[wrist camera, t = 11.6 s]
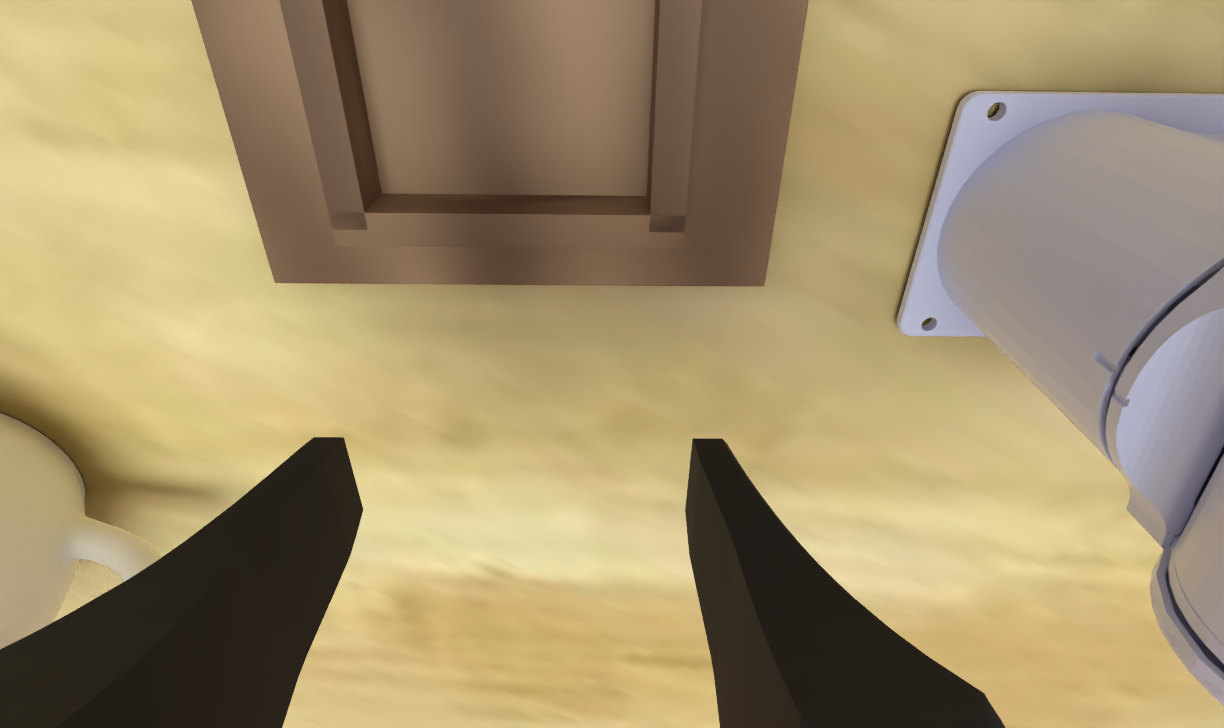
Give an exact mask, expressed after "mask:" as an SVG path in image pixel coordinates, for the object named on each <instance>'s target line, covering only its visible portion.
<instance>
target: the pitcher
mask: <svg viewBox="0 0 1224 728" xmlns="http://www.w3.org/2000/svg"><path fill="white" fill-rule="evenodd" d="M84 500H85V487H84V484H83V480H82V478H81V475H80V473H79V471H78V470H77V468H76V466H75V465H74V463H73V462H72V461H71V460H70V458H69V457H68V456H67V455H66V454H65V453H64V452H63V451H62V450H61V449H60V448H59V447H58V446H57V445H56V444H54V443H53V442H52V441H51V440H50V439H48V438H47V437H45V436H44V435H43V434H41V433H40V432H38V431H36V430H35V429H33V428H31V427H30V426H28V425H26V424H24V423H22V422H20V421H18V420H16V419H14V418H11V417H9V416H6V415H4V414H1V413H0V649H2V648H4V647H6V646H8V645H10V644H12V643H14V642H16V641H18V640H20V639H22V638H24V637H26V636H28V635H30V634H32V633H34V632H36V631H38V630H40V629H42V628H43V627H45V626H47V625H49V624H51V623H52V622H53V621H54V619H55V617H56V615H57V613H58V611H59V609H60V607H61V604H62V602H63V600H64V598H65V596H66V594H67V591H68V589H69V586H70V584H71V581H72V579H73V576H74V573H75V571H76V568H77V565H78V562H79V559H85V560H90V561H94V562H97V563H100V564H102V565H104V566H106V567H108V568H110V569H111V570H113V571H114V572H115V573H116V574H117V575H118V576H119V577H120V578H121V579H122V580H123V582H125V581H126V580H128V579H129V578H131V577H133V576H134V575H136V574H137V573H139V572H140V571H142V570H143V569H145V568H147V567H148V566H150V565H151V564H153V563H154V562H156V561H157V560H159V559H160V558H161V556H160V555H159V553H158V552H157V551H156V550H155V549H154V547H153V546H152V545H151V544H150V543H148V542H147V541H145V540H144V539H143V538H141V537H140V536H138V535H136V534H134V533H131V532H129V531H127V530H125V529H122V528H119V527H116V526H114V525H110V524H107V523H104V522H101V521H98V520H95V519H92V518H89V517H87V516H85V506H84Z"/></svg>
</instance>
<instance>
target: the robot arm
mask: <svg viewBox="0 0 1224 728" xmlns="http://www.w3.org/2000/svg"><path fill="white" fill-rule="evenodd" d="M997 102H998V103H999V110H998V112H997V113H996V114H995V115H994V116H993V117H991V118H988V117H987V115H988V110H989V108H990V107H991V106H992V105H993V104H994V103H997ZM931 317H932V320H931V321H930V323H928V324H927V325H922V323H923V321H924V320H926V319H927V318H931ZM897 326H898V328H899V330H900V331H901V332H902V333H903V334H905V335H908V336H987V337H988V338H989V339H990V340H991V341H992V342H993V343H994V344H995V345H996V346H997V347H998V348H999V349H1000V350H1001V351H1002V352H1003V353H1004V354H1005V355H1006V356H1007V357H1008V358H1009V359H1010V360H1011V361H1012V362H1013V363H1014V365H1015V366H1016V367H1017V368H1018V369H1019V370H1020V371H1021V372H1022V373H1023V374H1024V375H1025V376H1026V377H1027V378H1028V379H1029V380H1030V381H1031V382H1032V383H1033V384H1034V385H1035V386H1036V387H1037V388H1038V389H1039V390H1040V391H1041V392H1042V393H1043V394H1044V395H1045V396H1046V397H1047V398H1048V399H1049V400H1050V401H1051V402H1052V403H1053V404H1054V405H1055V406H1056V407H1057V408H1058V409H1059V410H1060V411H1061V412H1062V413H1063V414H1064V415H1065V416H1066V417H1067V418H1068V419H1069V420H1070V421H1071V422H1072V423H1073V424H1074V425H1075V426H1076V427H1077V428H1078V429H1079V430H1080V431H1081V432H1082V433H1083V434H1084V435H1085V436H1086V437H1087V438H1088V439H1089V440H1090V441H1091V442H1092V443H1093V444H1094V445H1095V446H1096V447H1097V448H1098V449H1099V450H1100V451H1101V452H1102V453H1103V454H1104V456H1105V457H1106V458H1107V459H1108V460H1109V461H1110V462H1111V463H1112V464H1113V465H1114V466H1115V467H1116V468H1117V469H1118V470H1119V471H1120V472H1121V473H1122V475H1123V476H1124V477H1125V479H1126V480H1127V482H1128V484H1129V487H1130V499H1129V502H1128V506H1127V510H1128V512H1129V513H1130V514H1131V515H1132V516H1133V517H1134V518H1135V519H1136V520H1137V521H1138V522H1139V523H1140V524H1141V525H1142V527H1143V528H1144V529H1145V530H1146V531H1147V532H1148V533H1149V534H1150V535H1151V536H1152V537H1153V538H1154V539H1155V540H1156V542H1157V543H1158V544H1159V545H1160V546H1161V547H1162V548H1164V549H1163V551H1162V553H1161V555H1160V557H1159V559H1158V560H1157V562H1156V564H1155V566H1154V568H1153V570H1152V576H1151V582H1150V594H1151V602H1152V608H1153V611H1154V614H1155V616H1156V619H1157V622H1158V625H1159V627H1160V629H1161V631H1162V633H1163V634H1164V636H1165V638H1166V639H1167V641H1168V643H1169V645H1170V646H1171V648H1172V650H1173V651H1174V652H1175V654H1176V655H1177V656H1178V657H1179V659H1180V660H1181V661H1182V663H1183V664H1184V665H1185V666H1186V668H1187V669H1188V670H1189V672H1190V673H1191V674H1192V675H1193V676H1194V677H1195V678H1196V679H1197V680H1198V681H1199V682H1200V683H1201V684H1202V685H1203V686H1204V687H1205V688H1206V689H1207V690H1208V691H1209V692H1210V694H1211V695H1212V696H1213V697H1214V698H1216V699H1217V700H1218V701H1219V702H1220V703H1221V704H1223V705H1224V94H1211V93H1128V92H1045V91H975V92H972V93H970V94H968V95H966V96H965V97H964V98H963V99H962V100H961V102H960V103H959V106H958V108H957V110H956V114H955V117H954V121H953V124H952V128H951V131H950V135H949V138H948V142H947V145H946V149H945V152H944V156H943V159H942V163H941V166H940V170H939V173H938V177H937V180H936V184H935V187H934V191H933V194H932V198H931V201H930V205H929V208H928V212H927V215H926V219H925V222H924V226H923V229H922V233H921V236H920V240H919V243H918V247H917V250H916V254H915V257H914V261H913V264H912V268H911V271H910V275H909V278H908V282H907V285H906V289H905V292H904V296H903V299H902V303H901V306H900V310H899V313H898V317H897ZM685 511H686V522H687V534H688V544H689V554H690V559H691V564H692V569H693V574H694V578H695V583H696V588H697V593H698V597H699V602H700V607H701V611H702V616H703V621H704V625H705V630H706V635H707V640H708V644H709V649H710V654H711V660H712V665H713V671H714V678H715V687H716V695H717V704H718V713H719V721H720V728H1005V726H1004V725H1003V723H1002V721H1001V719H1000V718H999V716H998V715H997V713H996V712H995V710H994V709H993V707H992V706H991V704H990V703H989V701H988V699H987V698H986V696H985V694H984V693H983V692H981V691H980V690H978V689H977V688H975V687H974V686H972V685H970V684H969V683H967V682H966V681H964V680H963V679H961V678H960V677H958V676H957V675H955V674H954V673H952V672H951V671H949V670H948V669H946V668H945V667H943V666H941V665H940V664H938V663H937V662H935V661H934V660H932V659H931V658H929V657H928V656H927V655H925V654H924V653H922V652H921V651H920V650H918V649H917V648H916V647H914V646H913V645H912V644H910V643H909V642H908V641H906V640H905V639H904V638H902V637H901V636H899V635H898V634H897V633H895V632H894V631H893V630H892V629H890V628H889V627H888V626H887V625H885V624H884V623H883V622H882V621H881V620H879V619H878V618H877V617H876V616H875V615H873V614H872V613H871V612H870V611H869V610H868V609H866V608H865V607H864V606H863V605H862V604H860V603H859V602H858V601H857V600H856V599H854V598H853V597H852V596H851V595H850V594H849V593H848V592H847V591H846V590H845V589H844V588H843V587H841V586H840V585H839V584H838V583H837V582H836V581H835V580H834V579H833V578H832V577H831V576H830V575H829V574H828V573H827V572H826V571H825V570H824V569H823V568H822V567H821V566H820V565H819V564H818V563H817V562H816V561H815V560H814V559H813V558H812V556H811V555H810V554H809V553H808V552H807V551H806V550H805V549H804V548H803V547H802V546H801V544H800V543H799V542H798V541H797V540H796V539H795V537H794V536H793V535H792V534H791V533H790V532H789V530H788V529H787V528H786V527H785V526H784V524H783V523H782V522H781V521H780V519H779V518H778V517H777V516H776V514H775V513H774V512H773V510H772V509H771V508H770V506H769V505H768V504H767V502H766V501H765V500H764V499H763V497H762V496H761V495H760V493H759V492H758V490H757V489H756V488H755V486H754V485H753V483H752V482H751V480H750V479H749V478H748V476H747V475H746V473H745V472H744V470H743V469H742V467H741V466H740V464H739V463H738V461H737V459H736V458H735V456H734V455H733V453H732V451H731V450H730V448H729V446H728V445H727V443H726V442H725V441H724V440H723V439H693V441H692V451H691V461H690V470H689V480H688V490H687V499H686V509H685ZM362 512H363V507H362V503H361V500H360V496H359V492H358V489H357V485H356V481H355V478H354V474H353V470H352V467H351V463H350V459H349V456H348V452H347V448H346V444H345V441H344V438H339V437H314V438H313V439H311V440H310V441H309V442H308V443H306V444H305V445H304V446H303V447H301V448H300V449H299V450H298V451H297V452H295V453H294V454H293V455H292V456H291V457H289V458H288V459H287V460H286V461H285V462H284V463H282V464H281V465H280V466H279V467H278V468H276V469H275V470H274V471H273V472H272V473H271V474H269V475H268V476H267V477H266V478H265V479H263V480H262V481H261V482H260V483H259V484H257V485H256V486H255V487H254V488H253V489H251V490H250V491H249V492H248V493H247V494H245V495H244V496H243V497H242V498H241V499H239V500H238V501H237V502H236V503H234V504H233V505H232V506H231V507H229V508H228V509H227V510H225V511H224V512H223V513H222V514H220V515H219V516H218V517H216V518H215V519H214V520H212V521H211V522H210V523H208V524H207V525H206V526H205V527H203V528H202V529H201V530H199V531H198V532H197V533H195V534H194V535H193V536H191V537H190V538H189V539H188V540H186V541H185V542H183V543H182V544H181V545H179V546H178V547H176V548H175V549H173V550H172V551H171V552H169V553H168V554H166V555H165V556H163V557H162V558H160V559H159V560H157V561H156V562H154V563H153V564H151V565H150V566H148V567H147V568H145V569H143V570H142V571H140V572H139V573H137V574H136V575H134V576H133V577H131V578H129V579H128V580H126V581H125V582H123V583H121V584H120V585H118V586H116V587H115V588H113V589H111V590H109V591H108V592H106V593H104V594H102V595H101V596H99V597H97V598H96V599H94V600H92V601H90V602H89V603H87V604H85V605H83V606H82V607H80V608H78V609H77V610H75V611H73V612H71V613H70V614H68V615H66V616H64V617H62V618H61V619H59V620H57V621H55V622H53V623H51V624H49V625H47V626H45V627H43V628H42V629H40V630H38V631H36V632H34V633H32V634H30V635H28V636H26V637H24V638H22V639H20V640H18V641H16V642H14V643H12V644H10V645H8V646H6V647H4V648H2V649H0V728H282V726H283V723H284V720H285V717H286V714H287V710H288V707H289V704H290V701H291V698H292V695H293V692H294V689H295V686H296V683H297V679H298V676H299V674H300V671H301V669H302V666H303V664H304V661H305V658H306V656H307V653H308V651H309V649H310V647H311V644H312V642H313V640H314V638H315V635H316V633H317V631H318V628H319V626H320V624H321V622H322V619H323V617H324V615H325V612H326V610H327V608H328V606H329V603H330V601H331V599H332V597H333V594H334V592H335V590H336V587H337V585H338V583H339V580H340V578H341V576H342V573H343V571H344V569H345V566H346V564H347V562H348V559H349V557H350V554H351V551H352V548H353V544H354V541H355V538H356V534H357V531H358V527H359V523H360V519H361V516H362Z"/></svg>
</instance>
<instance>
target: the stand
mask: <svg viewBox="0 0 1224 728" xmlns="http://www.w3.org/2000/svg"><path fill="white" fill-rule="evenodd" d="M191 1H192V4H193V7H194V11H195V14H196V17H197V21H198V24H199V28H200V31H201V34H202V38H203V41H204V44H205V48H206V51H207V55H208V58H209V61H210V65H211V68H212V72H213V75H214V78H215V82H216V85H217V88H218V92H219V95H220V99H221V102H222V105H223V109H224V112H225V116H226V119H227V122H228V126H229V129H230V132H231V136H232V139H233V143H234V146H235V149H236V153H237V156H238V160H239V163H240V166H241V170H242V173H243V176H244V180H245V183H246V187H247V190H248V193H249V197H250V200H251V204H252V207H253V210H254V214H255V217H256V220H257V224H258V227H259V231H260V234H261V237H262V241H263V244H264V248H265V251H266V254H267V258H268V261H269V264H270V268H271V271H272V275H273V278H274V281H275V283H353V284H494V285H636V286H764V284H765V277H766V271H767V264H768V258H769V252H770V245H771V239H772V232H773V226H774V219H775V213H776V206H777V200H778V193H779V187H780V180H781V174H782V168H783V161H784V155H785V148H786V142H787V135H788V129H789V122H790V116H791V109H792V103H793V96H794V90H795V84H796V77H797V71H798V64H799V58H800V51H801V45H802V38H803V32H804V25H805V19H806V12H807V6H808V0H191Z"/></svg>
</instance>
